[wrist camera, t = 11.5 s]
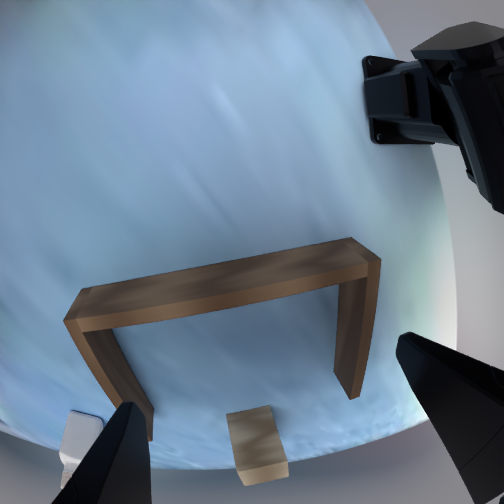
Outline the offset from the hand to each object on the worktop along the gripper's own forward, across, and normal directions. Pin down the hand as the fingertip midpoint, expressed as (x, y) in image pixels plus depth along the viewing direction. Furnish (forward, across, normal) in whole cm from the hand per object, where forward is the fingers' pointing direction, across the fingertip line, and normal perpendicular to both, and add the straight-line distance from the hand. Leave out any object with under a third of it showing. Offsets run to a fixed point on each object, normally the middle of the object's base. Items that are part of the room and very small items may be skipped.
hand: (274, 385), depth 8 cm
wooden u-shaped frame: (+12, +2, +8) cm, 14 cm away
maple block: (+12, +2, +20) cm, 23 cm away
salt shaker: (+12, +20, +16) cm, 28 cm away
